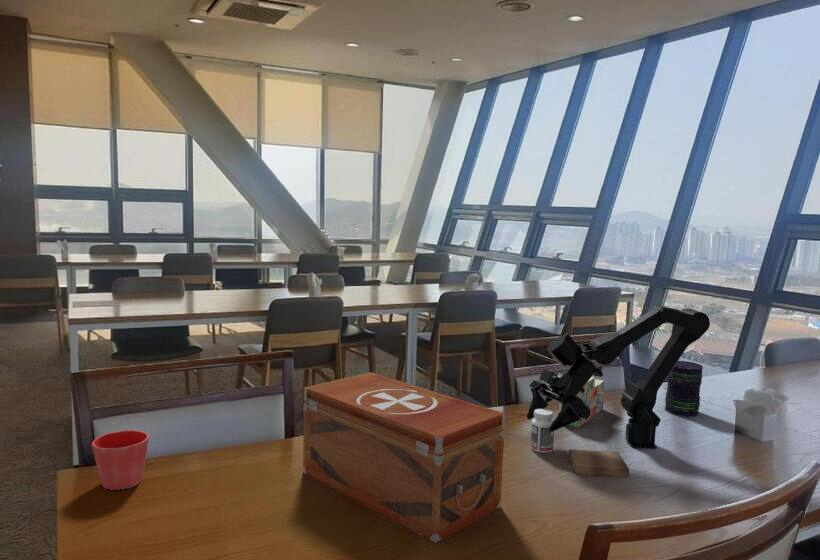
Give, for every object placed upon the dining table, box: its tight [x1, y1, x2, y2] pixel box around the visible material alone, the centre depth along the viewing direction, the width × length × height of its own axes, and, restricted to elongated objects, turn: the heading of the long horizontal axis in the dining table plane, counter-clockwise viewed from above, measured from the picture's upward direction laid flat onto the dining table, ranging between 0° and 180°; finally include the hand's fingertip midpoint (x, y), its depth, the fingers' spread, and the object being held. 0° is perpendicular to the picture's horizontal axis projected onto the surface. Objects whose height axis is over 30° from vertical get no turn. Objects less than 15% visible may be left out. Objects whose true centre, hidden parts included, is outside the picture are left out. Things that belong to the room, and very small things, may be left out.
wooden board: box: [567, 448, 630, 478], centre depth 148 cm, size 12×10×2 cm
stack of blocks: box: [557, 376, 605, 428], centre depth 184 cm, size 21×6×12 cm, turn 144°
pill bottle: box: [530, 408, 555, 454], centre depth 157 cm, size 6×6×10 cm
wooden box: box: [302, 371, 506, 543], centre depth 132 cm, size 20×41×20 cm, turn 46°
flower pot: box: [91, 430, 150, 491], centre depth 131 cm, size 11×11×10 cm
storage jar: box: [664, 360, 703, 418], centre depth 191 cm, size 10×10×15 cm
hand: (538, 424), depth 156 cm, fingers open, 9 cm apart
